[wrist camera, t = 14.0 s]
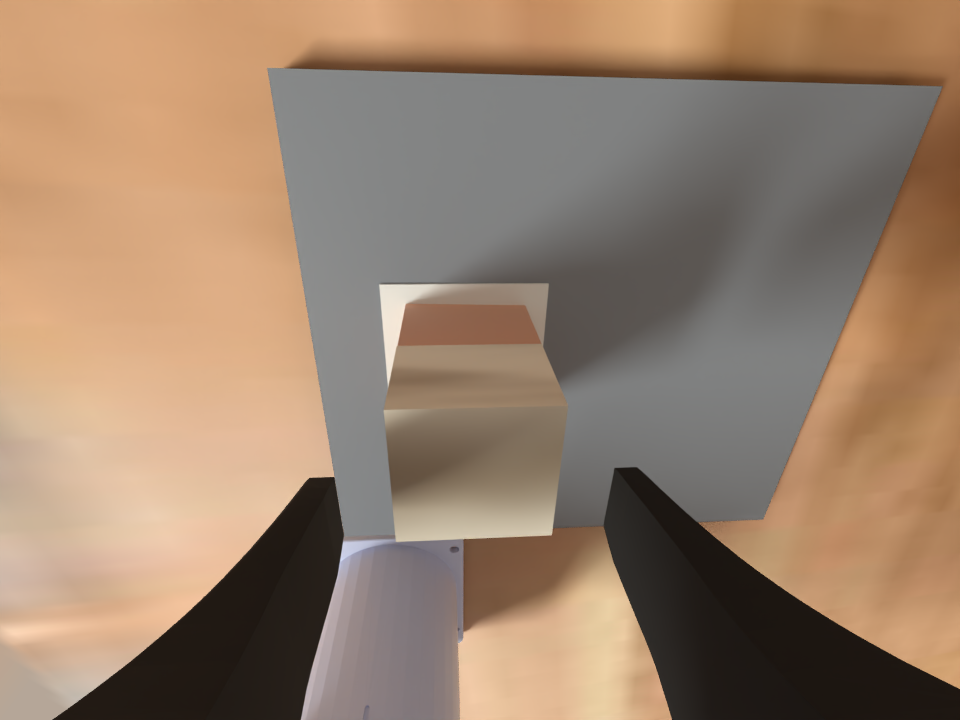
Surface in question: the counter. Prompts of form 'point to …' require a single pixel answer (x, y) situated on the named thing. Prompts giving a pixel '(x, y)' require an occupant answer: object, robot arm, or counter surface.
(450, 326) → the base block
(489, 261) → the board
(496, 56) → the counter surface
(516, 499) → the top block
